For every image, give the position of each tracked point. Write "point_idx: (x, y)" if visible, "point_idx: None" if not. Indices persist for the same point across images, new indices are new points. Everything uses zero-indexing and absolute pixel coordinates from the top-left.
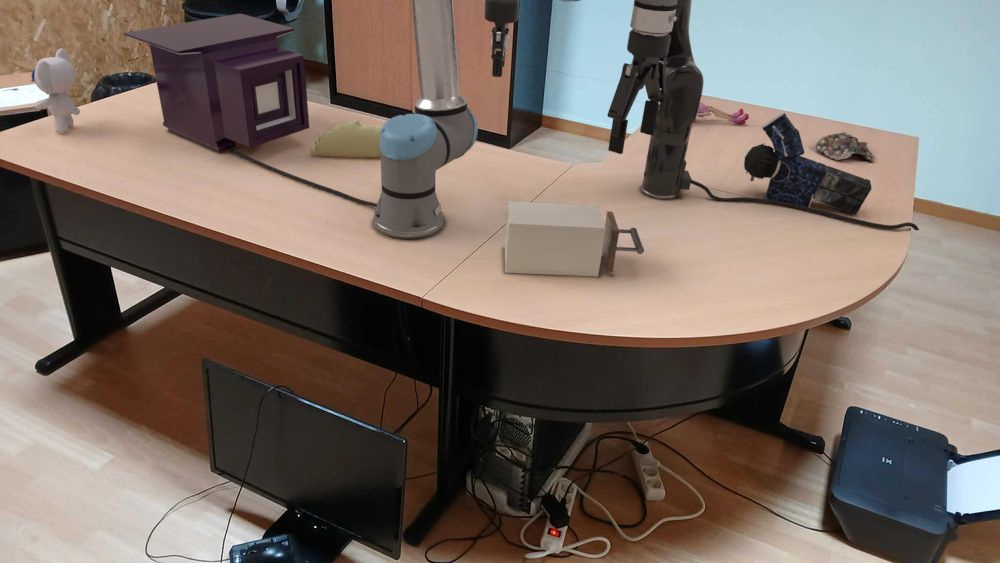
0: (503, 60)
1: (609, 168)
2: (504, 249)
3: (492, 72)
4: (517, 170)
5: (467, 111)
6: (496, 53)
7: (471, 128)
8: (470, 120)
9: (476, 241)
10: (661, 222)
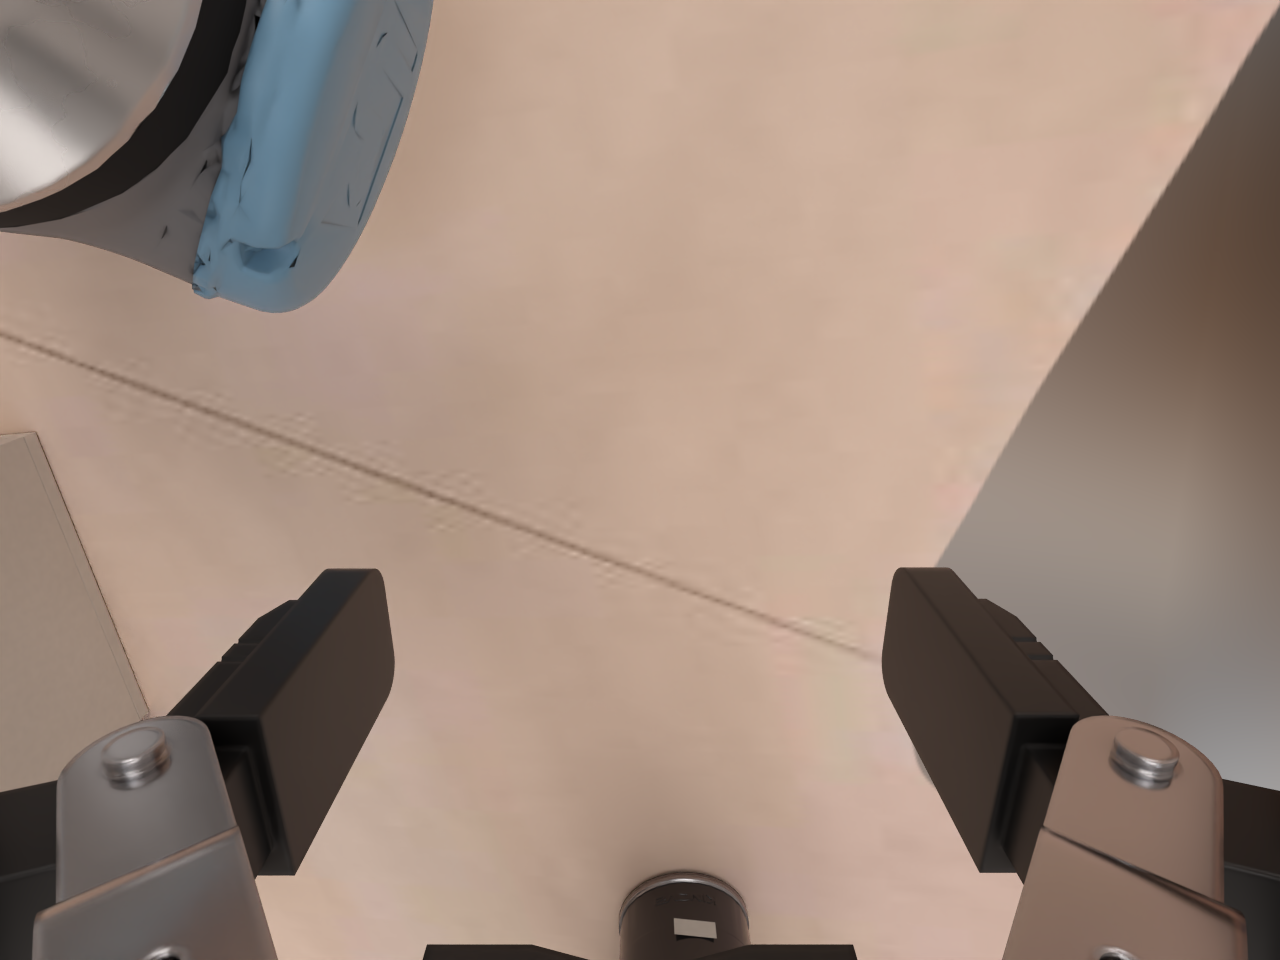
0: (914, 728)
1: (873, 788)
2: (25, 433)
3: (307, 591)
4: (804, 442)
5: (48, 230)
6: (986, 692)
7: (159, 269)
8: (164, 257)
9: (42, 317)
10: (445, 901)
